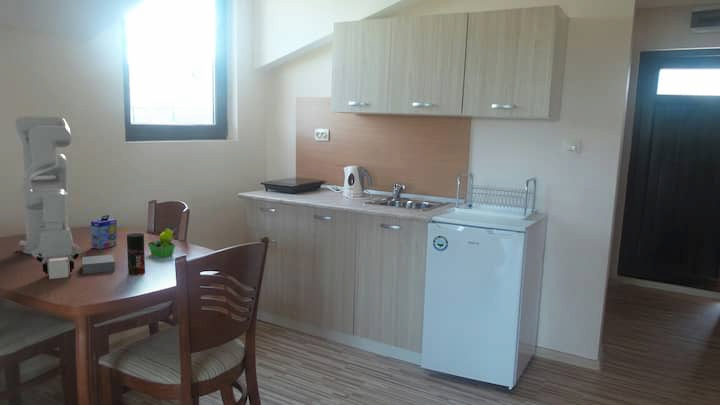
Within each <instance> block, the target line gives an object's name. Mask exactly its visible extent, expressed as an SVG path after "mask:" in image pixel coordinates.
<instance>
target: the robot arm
mask: <svg viewBox="0 0 720 405" xmlns="http://www.w3.org/2000/svg"><path fill="white" fill-rule="evenodd" d="M14 126H15V130H16V132H17V135H18V137H19V138H20V140H21V143H22V156H23V158H22V159H23V169H24V172H25V173H24V176H23V177H22V180H21V183H20V194H21V196H22V197H21V198H22V200H23V201H22V202H23V207H24V208H23V209H24V220H25V223H24V224H25V236H26V240H20V241H19V243H18V247H24V248H23V250H22V252H23V253H24V254H27V255H31V256H32V257H33V258H34V259H36V261H38V262H39V263H41V264H42V272H43V273H44V275H49V265H48V262H47V260H49V259H52V258H64V257H68V265H69V273H73V270H75V260H76V259H78V258H79V257H80V255H81V254H82V253H83V248H82V247H81V246H78V245H76V244H75V243H74V240H73V235H72V231H71V230H72V229H71V227H69V225H68V224H69V221H68V206H67V205H68V203H69V166H68V160H67V157H66V156H65V155H64V154H62V153H57V148H69V147H70V146H71V145H72V144H73V143H72V142H73V135H72V131H71V129H70V127H69V124H68V123H67V121H66V120H65V118H63V117H61V116H49V115H45V116H44V115H22V116H21V115H20V116H18V117H16V119H15V122H14ZM48 176H50V177H48ZM51 176H53V177H51ZM74 250H76V252H75V253H74ZM40 255H41V256H40Z"/></svg>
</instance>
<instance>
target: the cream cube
mask: <svg viewBox="0 0 720 405" xmlns="http://www.w3.org/2000/svg"><path fill="white" fill-rule="evenodd" d="M47 265H48V277H49V278H48V279H49V280H50V279H51V280H52V279H62V278H63V279H64V278H69V273H70V270H69V257H68V256H66V257H54V258H48V262H47Z"/></svg>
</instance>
